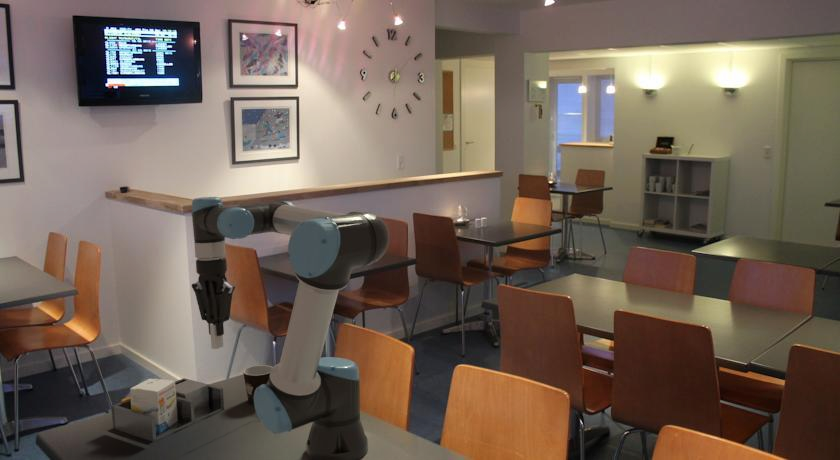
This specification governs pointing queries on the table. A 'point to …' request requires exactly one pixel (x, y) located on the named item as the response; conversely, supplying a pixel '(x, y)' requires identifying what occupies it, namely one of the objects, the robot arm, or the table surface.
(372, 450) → the table surface
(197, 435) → the table surface
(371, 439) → the table surface
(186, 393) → the light grey block
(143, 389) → the ink box
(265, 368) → the coffee mug
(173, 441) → the table surface
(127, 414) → the grey compartment tray
